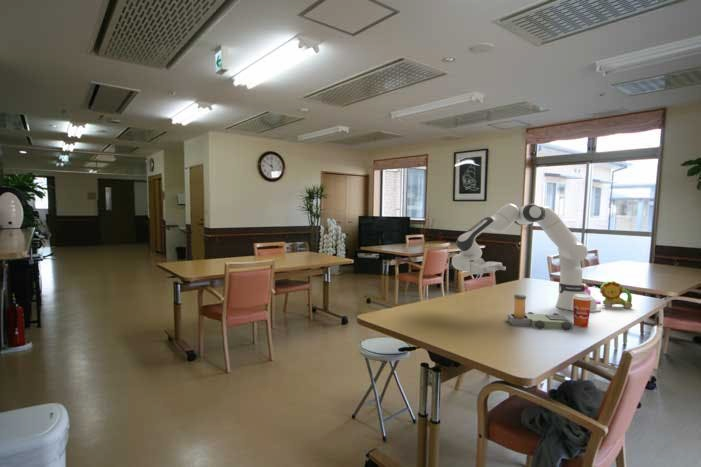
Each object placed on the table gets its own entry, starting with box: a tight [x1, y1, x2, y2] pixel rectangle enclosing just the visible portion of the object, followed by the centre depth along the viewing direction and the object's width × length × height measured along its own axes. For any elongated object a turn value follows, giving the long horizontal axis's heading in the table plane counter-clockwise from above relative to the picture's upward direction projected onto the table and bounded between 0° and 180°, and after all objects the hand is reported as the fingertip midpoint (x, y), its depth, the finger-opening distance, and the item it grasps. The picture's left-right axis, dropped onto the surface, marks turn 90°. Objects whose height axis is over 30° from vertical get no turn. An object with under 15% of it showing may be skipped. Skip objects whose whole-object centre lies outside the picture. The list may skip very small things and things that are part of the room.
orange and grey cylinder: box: [513, 294, 527, 319], centre depth 194 cm, size 5×5×14 cm
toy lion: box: [599, 280, 633, 309], centre depth 229 cm, size 16×5×15 cm, turn 72°
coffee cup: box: [572, 294, 592, 328], centre depth 191 cm, size 8×8×15 cm
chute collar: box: [507, 313, 532, 327], centre depth 194 cm, size 9×9×4 cm
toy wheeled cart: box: [525, 311, 574, 331], centre depth 192 cm, size 18×16×4 cm
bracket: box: [585, 288, 602, 305], centre depth 242 cm, size 13×6×7 cm, turn 13°
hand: (500, 269), depth 203 cm, fingers open, 8 cm apart
